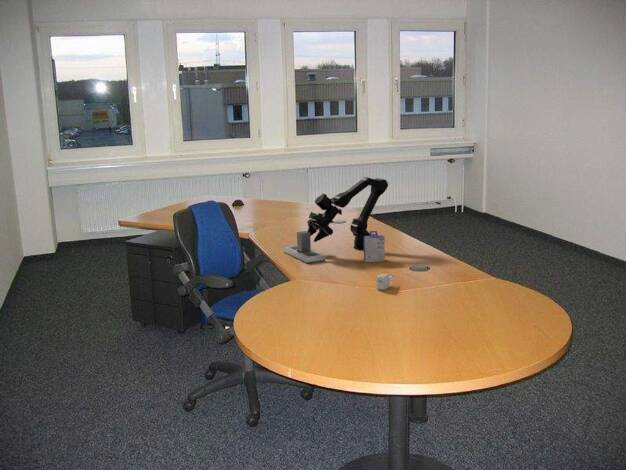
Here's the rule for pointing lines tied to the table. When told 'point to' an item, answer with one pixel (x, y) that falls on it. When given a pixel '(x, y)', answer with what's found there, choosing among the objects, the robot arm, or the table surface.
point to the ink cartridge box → (374, 247)
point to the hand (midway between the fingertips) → (309, 240)
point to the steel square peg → (303, 242)
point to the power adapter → (383, 281)
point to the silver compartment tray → (305, 255)
